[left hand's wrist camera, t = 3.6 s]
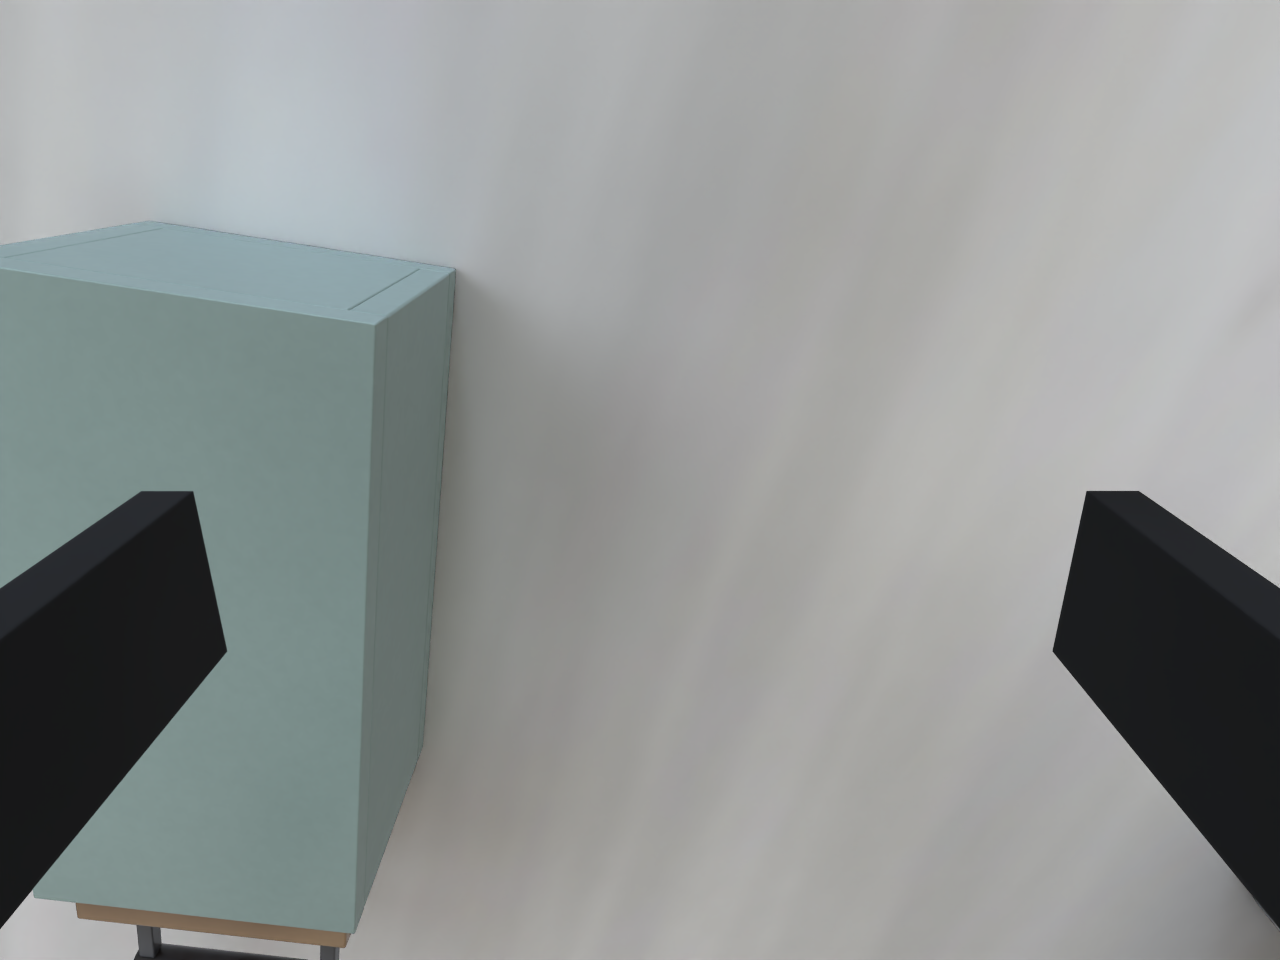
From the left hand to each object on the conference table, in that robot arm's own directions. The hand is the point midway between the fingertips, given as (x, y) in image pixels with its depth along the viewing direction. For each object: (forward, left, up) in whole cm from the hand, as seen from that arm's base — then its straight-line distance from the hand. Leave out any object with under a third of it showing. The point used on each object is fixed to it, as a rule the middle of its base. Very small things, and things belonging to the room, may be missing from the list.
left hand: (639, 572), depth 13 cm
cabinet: (0, -16, -19) cm, 25 cm away
